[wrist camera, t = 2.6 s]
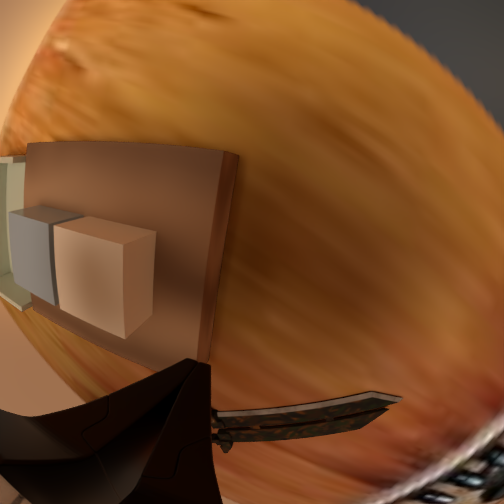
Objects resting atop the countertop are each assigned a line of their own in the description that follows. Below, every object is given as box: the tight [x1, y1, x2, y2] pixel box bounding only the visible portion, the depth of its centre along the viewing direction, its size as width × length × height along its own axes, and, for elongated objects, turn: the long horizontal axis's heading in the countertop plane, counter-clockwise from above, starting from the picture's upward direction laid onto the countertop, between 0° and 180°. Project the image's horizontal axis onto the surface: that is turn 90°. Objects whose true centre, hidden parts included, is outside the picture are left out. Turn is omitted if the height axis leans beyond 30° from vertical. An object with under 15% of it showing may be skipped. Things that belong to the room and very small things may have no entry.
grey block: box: [8, 205, 83, 306], centre depth 15 cm, size 5×5×3 cm
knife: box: [211, 392, 403, 453], centre depth 20 cm, size 25×6×1 cm, turn 103°
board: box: [24, 141, 239, 372], centre depth 17 cm, size 14×16×3 cm
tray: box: [0, 155, 33, 312], centre depth 18 cm, size 13×8×4 cm, turn 170°
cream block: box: [54, 216, 156, 339], centre depth 14 cm, size 5×5×3 cm
